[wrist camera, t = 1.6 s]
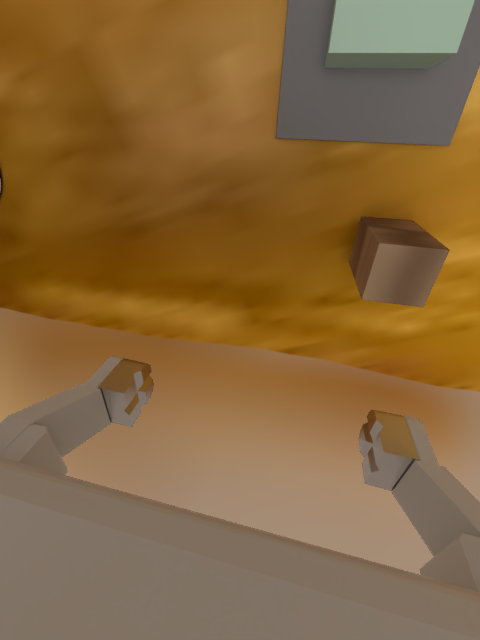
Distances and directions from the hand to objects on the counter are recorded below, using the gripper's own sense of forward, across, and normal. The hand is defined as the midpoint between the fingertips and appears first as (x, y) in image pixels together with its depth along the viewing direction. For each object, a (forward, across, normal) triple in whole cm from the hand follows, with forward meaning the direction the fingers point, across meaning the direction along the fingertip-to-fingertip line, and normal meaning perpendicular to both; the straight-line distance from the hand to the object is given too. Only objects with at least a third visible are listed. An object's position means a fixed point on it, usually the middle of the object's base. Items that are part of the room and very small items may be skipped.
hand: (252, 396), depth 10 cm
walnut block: (+25, +9, -1) cm, 27 cm away
